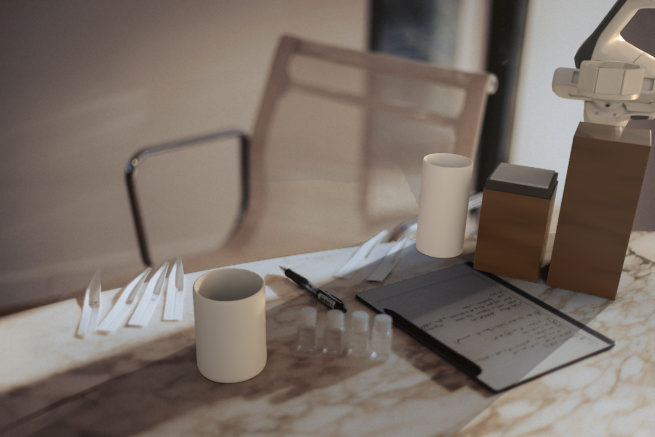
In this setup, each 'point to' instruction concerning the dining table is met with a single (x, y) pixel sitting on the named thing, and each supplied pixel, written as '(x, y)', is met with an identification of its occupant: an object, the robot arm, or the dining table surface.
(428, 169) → the cup
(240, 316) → the mug
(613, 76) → the cream rounded piece
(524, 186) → the scale
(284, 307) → the dining table surface
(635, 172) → the stand
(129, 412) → the dining table surface
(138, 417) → the dining table surface
